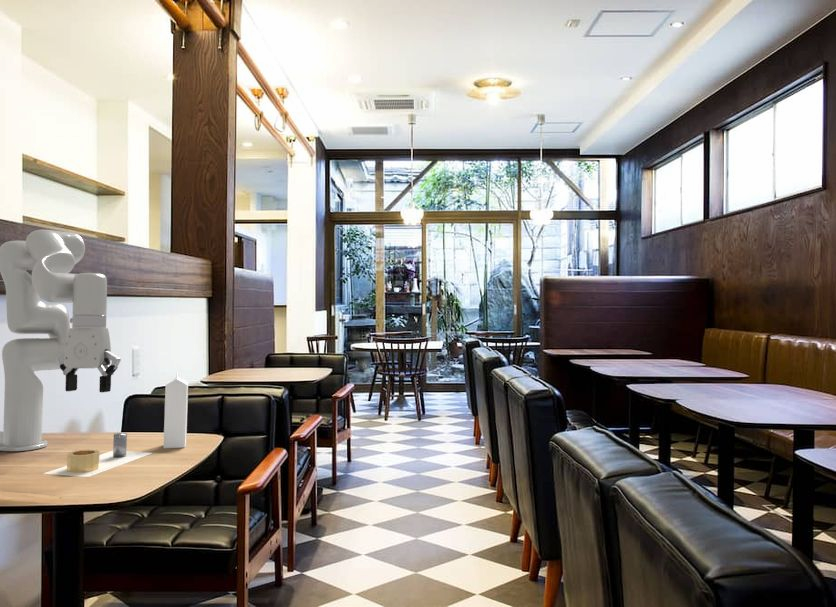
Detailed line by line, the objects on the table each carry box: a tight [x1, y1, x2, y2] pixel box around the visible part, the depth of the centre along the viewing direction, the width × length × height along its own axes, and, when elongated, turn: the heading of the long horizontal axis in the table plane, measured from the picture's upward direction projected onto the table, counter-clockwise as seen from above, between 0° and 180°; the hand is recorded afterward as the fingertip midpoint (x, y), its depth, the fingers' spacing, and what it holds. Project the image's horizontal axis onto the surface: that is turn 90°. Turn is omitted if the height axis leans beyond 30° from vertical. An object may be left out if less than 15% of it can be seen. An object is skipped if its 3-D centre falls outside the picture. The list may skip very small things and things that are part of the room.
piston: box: [112, 432, 128, 458], centre depth 167 cm, size 3×3×6 cm
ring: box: [66, 449, 100, 473], centre depth 153 cm, size 7×7×4 cm
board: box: [42, 450, 153, 478], centre depth 160 cm, size 12×26×2 cm, turn 170°
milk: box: [163, 372, 189, 449], centre depth 188 cm, size 6×6×22 cm
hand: (88, 391), depth 155 cm, fingers open, 9 cm apart
